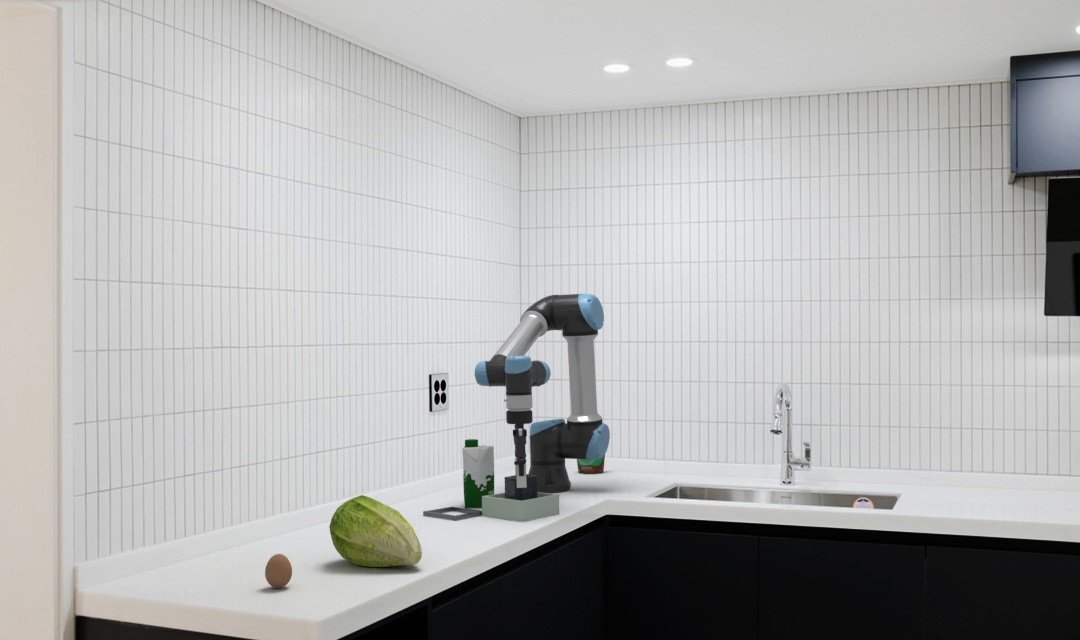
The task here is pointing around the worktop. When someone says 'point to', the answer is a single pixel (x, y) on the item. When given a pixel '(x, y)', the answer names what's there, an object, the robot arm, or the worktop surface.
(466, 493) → the milk carton
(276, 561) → the egg
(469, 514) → the collar
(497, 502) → the bin
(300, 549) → the worktop surface
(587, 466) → the food container
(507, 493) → the box
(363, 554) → the lettuce
